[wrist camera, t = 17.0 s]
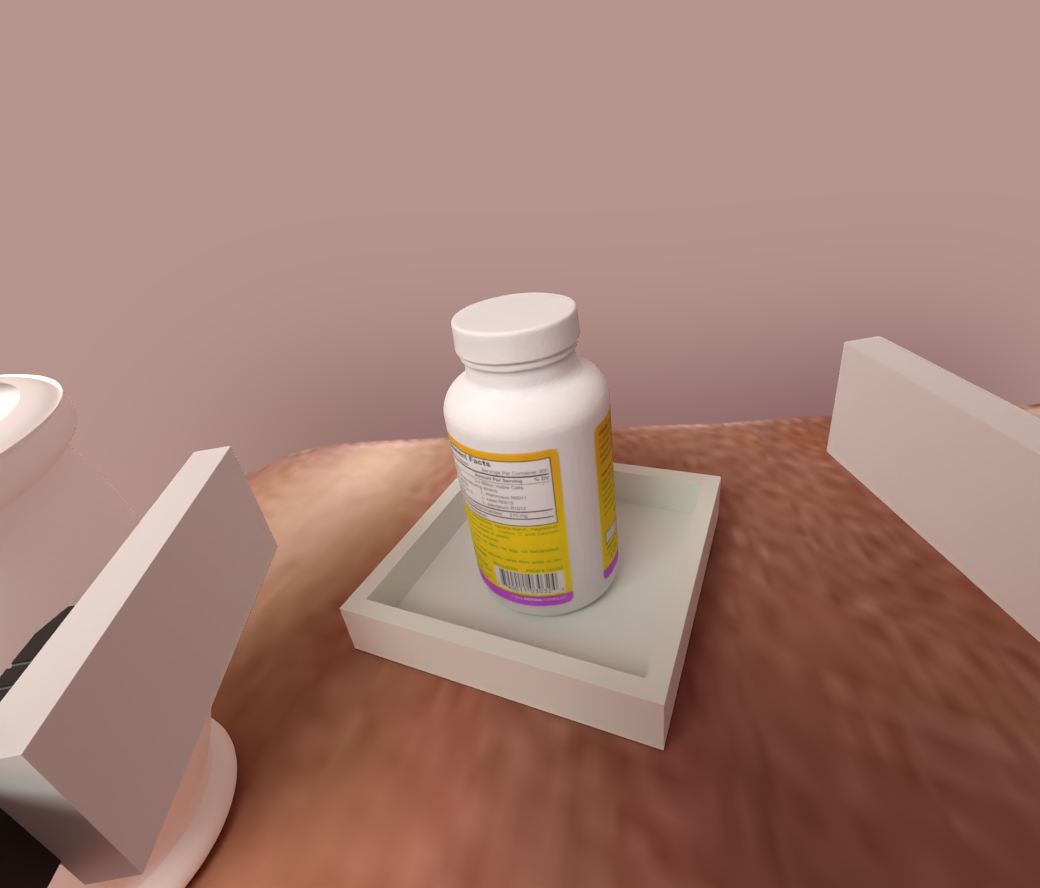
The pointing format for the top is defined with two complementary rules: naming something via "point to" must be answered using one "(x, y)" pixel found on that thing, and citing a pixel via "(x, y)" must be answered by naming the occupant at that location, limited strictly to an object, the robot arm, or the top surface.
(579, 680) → the tray
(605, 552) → the supplement bottle
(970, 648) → the top surface
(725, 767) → the top surface
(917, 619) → the top surface
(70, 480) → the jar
